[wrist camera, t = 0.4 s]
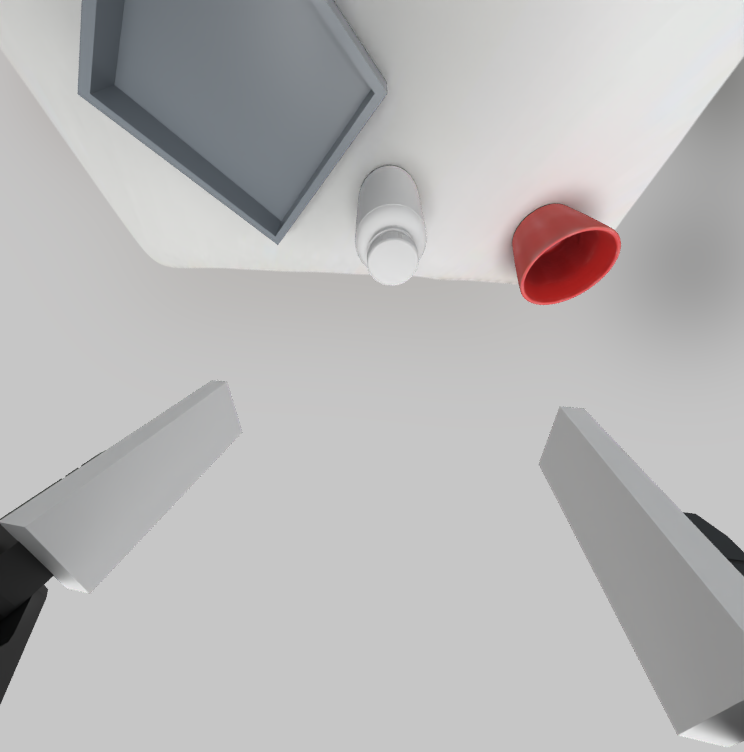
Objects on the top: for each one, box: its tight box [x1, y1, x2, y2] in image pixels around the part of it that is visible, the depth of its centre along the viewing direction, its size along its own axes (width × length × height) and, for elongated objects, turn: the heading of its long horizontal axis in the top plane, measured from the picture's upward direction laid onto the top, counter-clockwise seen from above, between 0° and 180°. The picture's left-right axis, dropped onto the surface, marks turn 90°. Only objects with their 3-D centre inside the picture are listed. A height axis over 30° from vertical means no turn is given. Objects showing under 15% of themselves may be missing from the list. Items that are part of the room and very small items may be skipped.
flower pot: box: [512, 204, 621, 305], centre depth 36 cm, size 11×11×10 cm
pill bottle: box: [355, 166, 427, 286], centre depth 31 cm, size 8×8×15 cm
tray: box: [78, 0, 387, 245], centre depth 25 cm, size 20×20×5 cm
